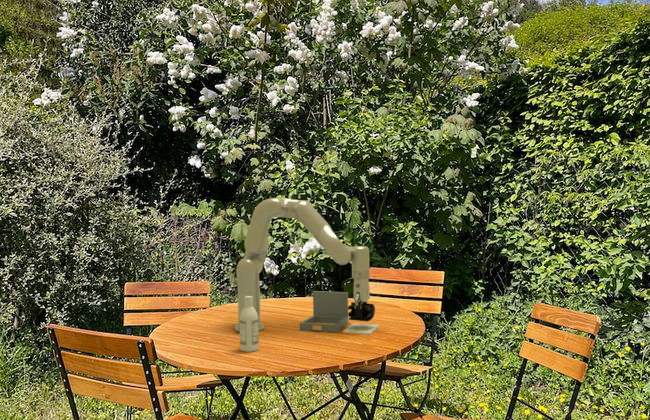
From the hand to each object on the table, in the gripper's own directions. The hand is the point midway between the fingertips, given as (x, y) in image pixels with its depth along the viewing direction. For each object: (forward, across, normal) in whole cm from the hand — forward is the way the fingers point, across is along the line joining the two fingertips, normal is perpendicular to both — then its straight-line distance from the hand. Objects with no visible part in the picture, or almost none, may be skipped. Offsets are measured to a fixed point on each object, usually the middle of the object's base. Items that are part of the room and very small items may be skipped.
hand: (361, 315), depth 234 cm
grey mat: (+6, 0, 0) cm, 6 cm away
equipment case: (+6, 0, +17) cm, 18 cm away
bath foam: (+6, -43, +32) cm, 54 cm away
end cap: (+2, 0, 0) cm, 2 cm away
